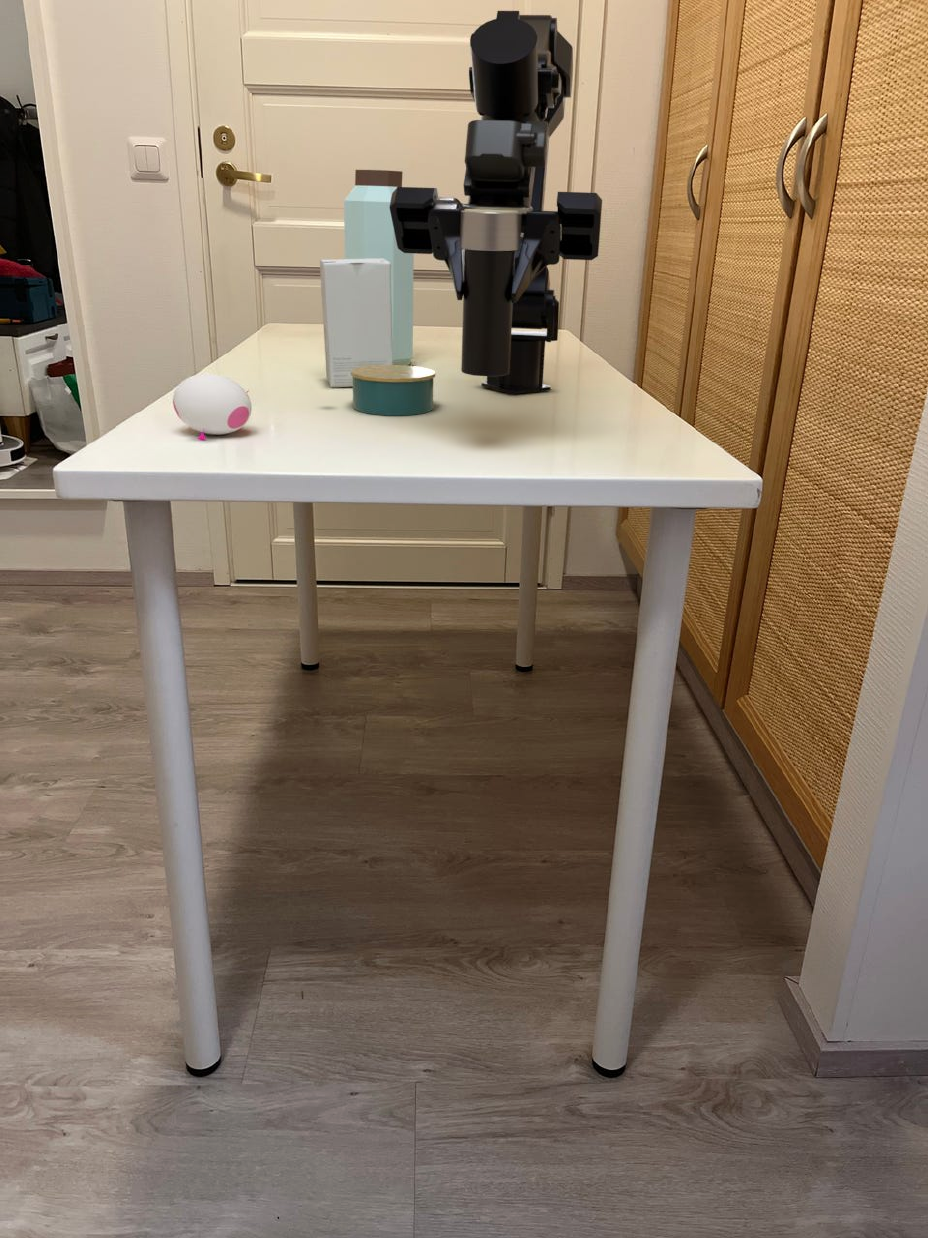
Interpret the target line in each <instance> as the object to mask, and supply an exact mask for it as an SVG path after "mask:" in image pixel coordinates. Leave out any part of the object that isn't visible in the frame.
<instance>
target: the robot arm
mask: <svg viewBox="0 0 928 1238" xmlns="http://www.w3.org/2000/svg"><path fill="white" fill-rule="evenodd" d="M469 48H470V58H471V59H470V60H471V66H469V67H468V81H469V93H470V95H471V98H472V100H473V102H474V106H475V110H476V112H477V114H478V115H479V116H481V117H480V119H473V120H471V121H469V122H468V123H467V130H466V139H465V140H466V141H465V150H464V151H465V152H464V154H465V155H464V164H465V173H464V180H463V194H464V196H465V197H468V199H467V203H462V202H461V201H460V200H459V199H458V198H457V197H452V196H451V197H450V196H449V197H447V196H439V192H438V188H437V187H416V186H415V187H414V186H402V187H397V188H396V189H395V191H394V192H393V193H392V197H391V202H390V207H389V208H390V213H391V218H392V223H393V228H394V232H395V237H396V242H397V247H398V249H399V250H401V251H402V252H404V253H414V254H419V255H432V256H433V258H434V259H435V260H437V261H443V262H444V263H445V265H446V267H447V269H448V271H449V273H450V276H451V280H452V283H453V288H454V292H455V295H456V298H457V299H456V300H457V301H463V293H464V256H465V249H461V248H460V233H461V211H465V209H485V210H513V211H518V213H521V214H522V216H521V237H520V250H519V251H515V265H514V276H513V281H512V291H511V302H512V303H513V308H512V329H511V350H510V371H509V374H507V375H503V376H486V381H482V382H481V387H483V388H487V389H491V390H494V391H499V392H501V393H505V394H511V395H516V394H524V393H525V394H526V393H535V392H544V391H545V392H546V391H551V390H552V389H551V388H552V387H551V385H547V384H544V370H545V369H544V367H545V353H546V352H545V351H546V343H551V342H557V341H558V339H559V338H558V337H559V321H560V319H559V318H560V302H559V301H558V299H557V298H556V294H555V289H554V288H551V279H550V271H549V268H548V266H555V265H557V264H558V263H559V262H560V258H562V259H563V260H574V261H593V260H595V259H596V258H598V257H599V250H600V240H601V239H600V238H601V225H602V210H603V199H602V197H601V196H600V195H599V194H598V193H597V192H585V191H584V192H582V191H581V192H580V191H557V196H556V207H557V210H545V209H544V207H545V196H546V195H545V194H546V184H547V172H548V160H549V159H548V158H549V150H550V149H549V148H550V147H549V146H550V138H551V136H552V135H553V134H554V132H555V130H556V129H557V128H558V127H559V126H560V124H561V123H562V121H563V120H564V118H565V110H566V99H567V98H568V99H570V98H572V91H573V79H574V78H573V77H574V47H573V45H572V44H571V43H570V42H569V41H568V40H567V39H566V38H565V37H564V36H563V35H562V34H561V33H560V32H559V31H558V18H557V17H553V16H552V15H551V14H520V10H497V11H496V17H495V18H494V19H491V20H488V21H486V22H484V23H482V24H481V25H480V26H479V27H478V28H476V29H475V30H474V32H473V33H471V34H470V37H469ZM514 329H516V330H514ZM517 329H526V330H517ZM527 329H528V330H527ZM529 329H530V330H529ZM542 329H546V331H537V330H542ZM535 330H536V331H535Z"/></svg>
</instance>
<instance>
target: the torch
mask: <svg viewBox="0 0 928 1238" xmlns="http://www.w3.org/2000/svg"><path fill="white" fill-rule="evenodd" d="M521 216H522V214H521V213H518V211H513V210H485V209H465V211H461V233H460V248H461V249H464V251H465V256H464V293H463V298H462V329H461V330H462V331H461V333H462V336H461V365H460V367H461V368H460V370H461V373H463V374H465V375H469V376H475V377H487V376H503V375H507V374H509V371H510V350H511V330H513V328H512V308H513V303H512V302H511V291H512V281H513V276H514V265H515V251H519V250H520V237H521Z"/></svg>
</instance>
